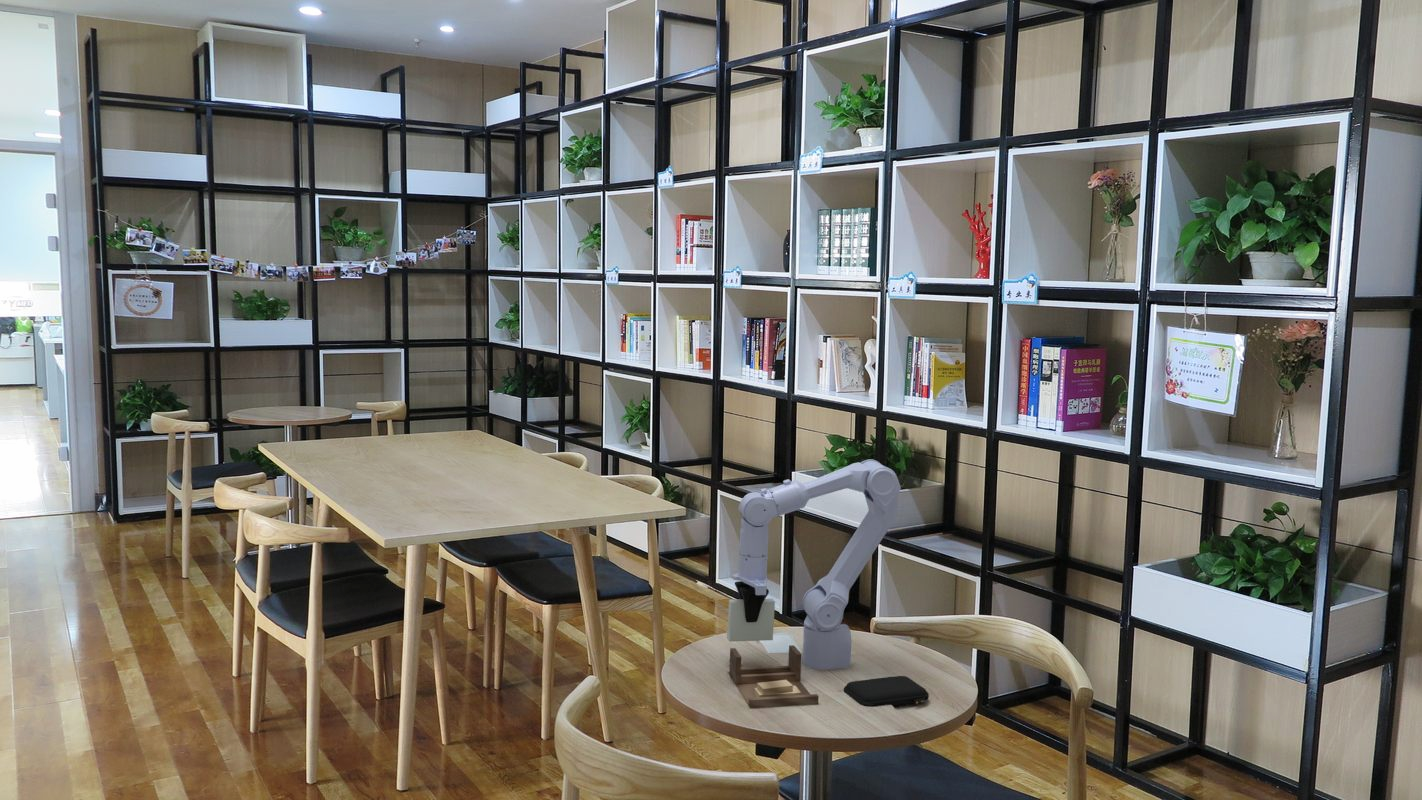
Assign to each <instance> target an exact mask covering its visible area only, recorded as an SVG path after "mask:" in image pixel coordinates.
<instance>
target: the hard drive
mask: <svg viewBox="0 0 1422 800" xmlns="http://www.w3.org/2000/svg"><path fill="white" fill-rule="evenodd" d="M755 642H756V643H758V644H760V643H761V644H762V645H763V647H764V649H765V650H766V652H767V654H789V646H790V645H794V646H795V647H796V648H797V649H798V651H799V652H800V653H803V650H801V648H800V647H799V646H798V645H797V643H796V639H795V638H794V637H793V635H792V634H791V633H790V632H773V640H765V641H755Z"/></svg>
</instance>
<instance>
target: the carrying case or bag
mask: <svg viewBox="0 0 1422 800" xmlns="http://www.w3.org/2000/svg"><path fill="white" fill-rule="evenodd" d="M843 692H844V693H845V695H847V696H849V697H850V698H852V700H854V701H855V702H856V703H858V704H859V705H861V706H864V707H867V708H868V707H871V708H873V707H875V708H876V707H882V706H890V705H891V706H892V707H893V708H900V706H901V707H905V706H906V707H907V705H908V706H917V705H922V704H924V703H926V702H927V701H928V700H929V698H930V694H929V692H928V691H927V689H926V688H924V687H923V686H922V685H920V684H919V683H917V682H916V681H914V680H913V679H911V678H910V677H908V676H906V675H896V676H887V677H886V676H885V677H879V678H878V677H877V678H869V679H862V680H852V681H850V682H848V683H847V684H846V685H845V686H844V687H843ZM921 703H922V704H921Z"/></svg>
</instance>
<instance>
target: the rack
mask: <svg viewBox="0 0 1422 800" xmlns="http://www.w3.org/2000/svg"><path fill="white" fill-rule="evenodd" d="M729 649H730V651H729V671H726V672H727V675H728V676H729V678H730V679H731V681H732V682H733V685H734V686H735V687H736V689H737V690H738V692H739V693H740V695H741V696H742V698H743V699H744V701H745V703H746V704H747V706H748V707H749V709H760V708H762V709H763V708H778V707H797V706H811V705H812V706H814V705H819V697H820V696H819V695H818V694H817V693H815V694H814V693H810V692H809V691H808V689H807V688H806V686H805V685H804V684H803V683H802V682H801V675H802V674H801V673H802V656H803V653H802V652H799V651H798V649H797V648H796V647H795V646H794V645H790V646H789V653H788V662H787V663H788V665H773V666H771V665H768V666H752V667H751V666H750V667H749V666H747V667H742V656H741V654H740V653H739V651H738V650H737V648H735V647H730V648H729ZM779 680H787V681H788V682H789V683H791V684H792V685H793V686H796V687H797V688H798V689H799V691H800V692H801V695H792V696H775V697H758V698H757V697H756V696H755V694H754V693H755V688H757V683H762V682H770V681H779Z"/></svg>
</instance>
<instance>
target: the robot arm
mask: <svg viewBox="0 0 1422 800" xmlns="http://www.w3.org/2000/svg"><path fill="white" fill-rule="evenodd" d="M782 482H783V483H782V484H780V485H776V486H774V487H771V488H768V489H767V488H766V487H764V488H761V489H760V492H756V491H755V492H748V493H747V494H746V495H744V497H742V498H741V500H740V503H739V504H738V507H737V508H738V512H739V514H740V516H742V517H741V523H740V531H739V547H738V548H739V549H738V565H737V566H738V567H737V569H738V570H737V573H733V574H731V578H732V580H733V581H735V582H734V586H735V587H736V591H737V592H738V597H739V599H743V601H744V608H745V618H746V622H757V620H758V617H759V613H760V610H761V606H762V604H763V602H764V600H765V599H767V597H768V595H769V593H770V592H769V589H768V588H767V582H768V575H767V573H768V558H769V557H768V556H769V538H770V537H769V535H770V532H769V527H770V525H769V524H770V523H771V522H772V520H773V518H778V517H780V516H783V515H786V514H789V513H792V512H795V511H797V510H798V511H799V510H801V509H804V508H805V507H806V505H807V504H808V502H809V501H810V499H815V498H817V497H822V496H825V495H827V494H832V493H835V492H838V491H842V490H845V489H849V490H852V491H855V492H856V491H857V492H861V493H863V494H864V497H865V501H866V505H867V507H868V508H867V509H868V511H867V513H866V514H865V516H864V518H863V519H862V521H861V522H860V524H859V525H858V527H857V528H856V530H855V532H854V533H853V535H852V536H851V538H850V539H849V541H848V543H847V544H846V546H845V547H844V549H843V550H842V551H841V553H840V555H839V557H838V558H837V560H836V561H835V563H834V564H833V566H832V567H831V569H830V571H829V572H828V574H827V575H825V576H823V577H822V578H820V579H818V581H817V583H816V584H815V585H814V586H813V587H812V588H810V589H808V590H807V591H806V592H805V594H804V595H803V596H802V597H803V598H802V601H801V602H802V608H803V610H804V611H805V613H806V617H805V619H804V622H803V635H802V636H803V639H802V656H801V664H802V665H803V666H805V667H807V668H809V669H812V670H818V671H819V670H820V671H825V670H826V671H827V670H833V669H844V668H851V664H852V663H851V660H852V641H853V640H852V632H851V629H850V627H849V626H848V625H847V624H845V623H843V624H842V621H843V619H844V611H845V608H846V607H847V605H848V603H849V598H850V597H849V595H850V590H851V589H852V586H854V584H855V583H856V581H857V579H858V578H859V576H860V574H861V573H862V572H863V570H864V568H865V567H866V565H867V564H868V562H869V561H870V559H871V558H872V556H873V554H874V553H875V551H876V549H877V548H878V546H879V545H880V544H881V541H882V540H883V539H884V537H885V536H886V534H887V532H888V531H889V529H890V528H891V526H892V524H893V523H894V522H895V520H896V517H897V515H898V503H899V493H900V492H901V484H900V481H899V478H898V476H897V473H895V471H894V470H893V469H891V468H889V467H887V466H885V465H883V464H882V463H880V462H879V461H878V460H875V459H866V460H865V459H864V460H863V461H861V462H854V463H851V464H849V465H847V466H844V467H842V468H840V469H837V470H835V471H832V472H829V473H827V474H825V475H822V476H820V477H817V478H815V479H812V480H810V481H807V482H804V483H802V482H801V481H798V480H795V479H794V480H790V479H784V480H783V481H782Z"/></svg>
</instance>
